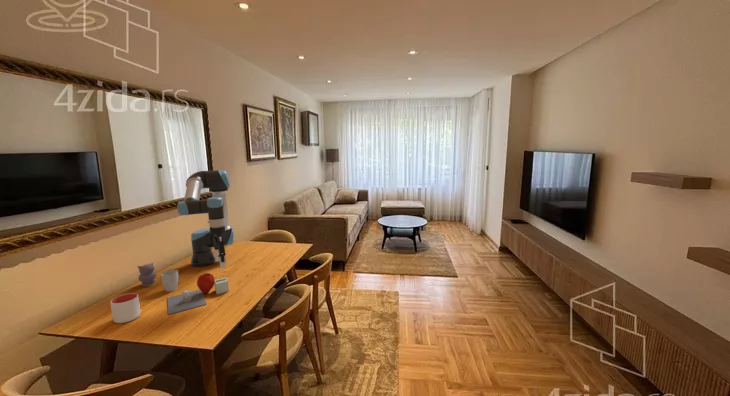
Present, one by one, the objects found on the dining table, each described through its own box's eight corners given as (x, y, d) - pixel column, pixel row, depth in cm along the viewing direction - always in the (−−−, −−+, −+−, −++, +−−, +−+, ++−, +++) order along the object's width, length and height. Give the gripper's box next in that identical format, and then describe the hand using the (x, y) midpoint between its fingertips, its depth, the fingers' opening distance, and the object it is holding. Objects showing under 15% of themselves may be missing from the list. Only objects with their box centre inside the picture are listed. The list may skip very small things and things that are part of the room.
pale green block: (215, 290, 164) (214, 279, 163) (226, 287, 167) (225, 276, 166) (216, 294, 159) (215, 282, 158) (228, 291, 162) (227, 280, 161)
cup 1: (123, 313, 141) (120, 293, 140) (145, 312, 142) (143, 292, 141) (107, 325, 132) (104, 304, 130) (131, 323, 132) (128, 303, 131)
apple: (197, 290, 163) (198, 271, 162) (214, 289, 166) (215, 270, 165) (195, 296, 155) (196, 276, 154) (213, 295, 158) (214, 275, 157)
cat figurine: (141, 288, 167) (138, 268, 166) (138, 284, 173) (135, 265, 171) (158, 283, 174) (156, 264, 172) (155, 279, 179) (153, 261, 177)
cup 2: (183, 287, 168) (181, 270, 167) (169, 293, 160) (167, 276, 159) (172, 285, 171) (171, 269, 169) (159, 291, 163) (157, 274, 162)
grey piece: (167, 298, 156) (166, 288, 155) (201, 289, 165) (200, 280, 164) (168, 314, 139) (167, 304, 138) (206, 304, 148) (205, 294, 147)
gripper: (205, 223, 166) (209, 259, 169) (213, 231, 146) (217, 272, 149) (220, 221, 170) (223, 256, 173) (229, 229, 150) (233, 269, 153)
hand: (220, 264), depth 161 cm, fingers open, 13 cm apart
